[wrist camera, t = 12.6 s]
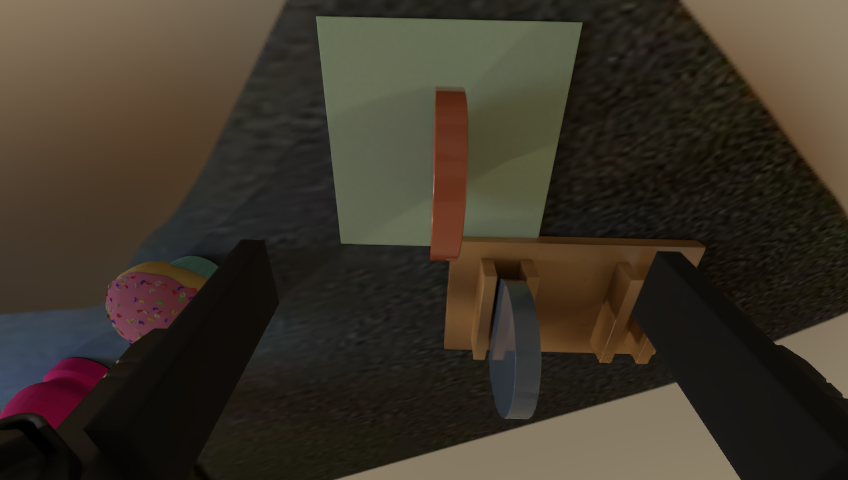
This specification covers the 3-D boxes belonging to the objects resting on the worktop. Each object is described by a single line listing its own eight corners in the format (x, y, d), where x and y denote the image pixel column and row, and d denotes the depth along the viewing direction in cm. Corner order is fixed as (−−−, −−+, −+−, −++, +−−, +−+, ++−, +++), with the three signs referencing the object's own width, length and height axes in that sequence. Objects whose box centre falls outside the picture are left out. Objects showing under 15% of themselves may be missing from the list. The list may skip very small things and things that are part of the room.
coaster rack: (451, 233, 30) (453, 258, 27) (697, 240, 30) (728, 265, 27) (444, 339, 36) (445, 370, 33) (648, 345, 36) (669, 376, 33)
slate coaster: (497, 253, 30) (524, 348, 21) (517, 253, 30) (552, 349, 21) (484, 342, 35) (501, 448, 26) (501, 343, 35) (524, 449, 26)
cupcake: (220, 326, 36) (135, 450, 26) (133, 277, 33) (-2, 394, 23) (266, 274, 33) (191, 392, 22) (174, 215, 30) (38, 319, 20)
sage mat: (317, 16, 23) (315, 16, 22) (580, 22, 23) (582, 22, 22) (342, 241, 31) (341, 243, 30) (534, 246, 31) (536, 248, 30)
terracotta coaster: (433, 75, 24) (435, 104, 15) (458, 75, 24) (474, 105, 15) (429, 214, 29) (429, 296, 20) (450, 215, 29) (458, 297, 20)
